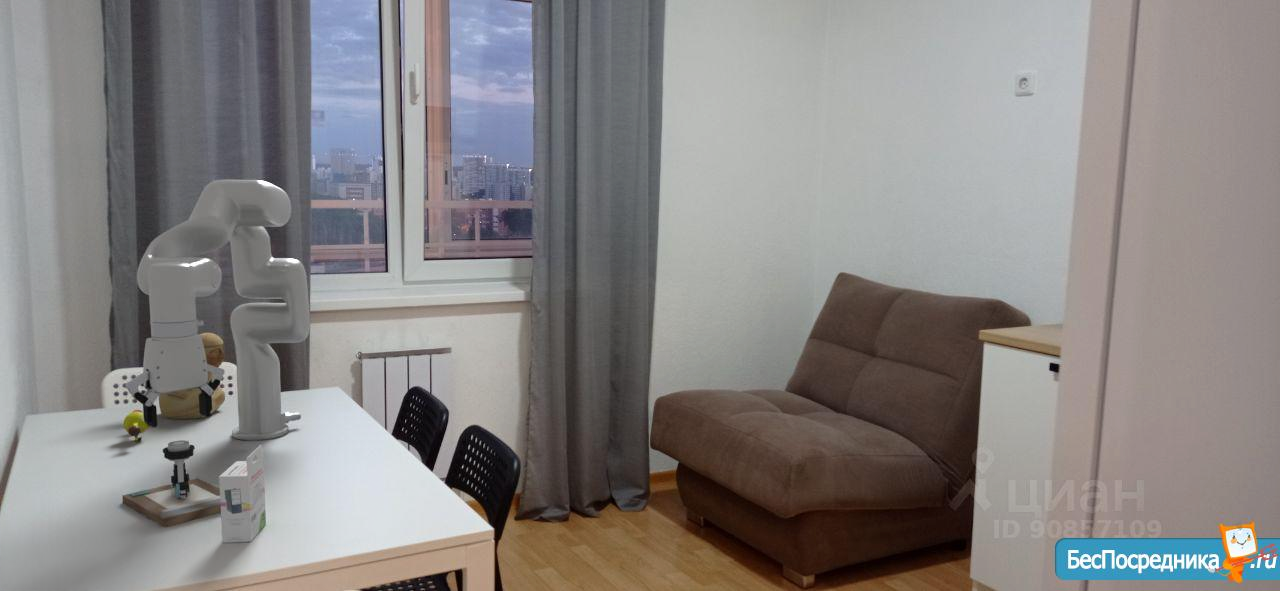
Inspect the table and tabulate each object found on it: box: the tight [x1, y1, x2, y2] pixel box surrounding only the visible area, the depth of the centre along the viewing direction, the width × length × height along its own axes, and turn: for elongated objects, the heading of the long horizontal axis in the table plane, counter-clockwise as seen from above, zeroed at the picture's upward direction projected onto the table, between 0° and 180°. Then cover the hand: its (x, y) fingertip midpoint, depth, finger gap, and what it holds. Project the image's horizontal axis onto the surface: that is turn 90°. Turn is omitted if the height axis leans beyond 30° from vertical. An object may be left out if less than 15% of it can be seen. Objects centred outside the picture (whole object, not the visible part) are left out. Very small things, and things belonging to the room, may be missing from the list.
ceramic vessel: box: [148, 320, 226, 420], centre depth 238 cm, size 17×20×25 cm
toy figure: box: [123, 409, 151, 442], centre depth 215 cm, size 18×6×7 cm, turn 26°
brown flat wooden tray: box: [122, 477, 221, 528], centre depth 173 cm, size 14×18×3 cm
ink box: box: [218, 444, 267, 544], centre depth 159 cm, size 9×5×15 cm, turn 5°
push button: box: [162, 439, 196, 499], centre depth 173 cm, size 7×5×10 cm
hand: (179, 420), depth 172 cm, fingers open, 9 cm apart
